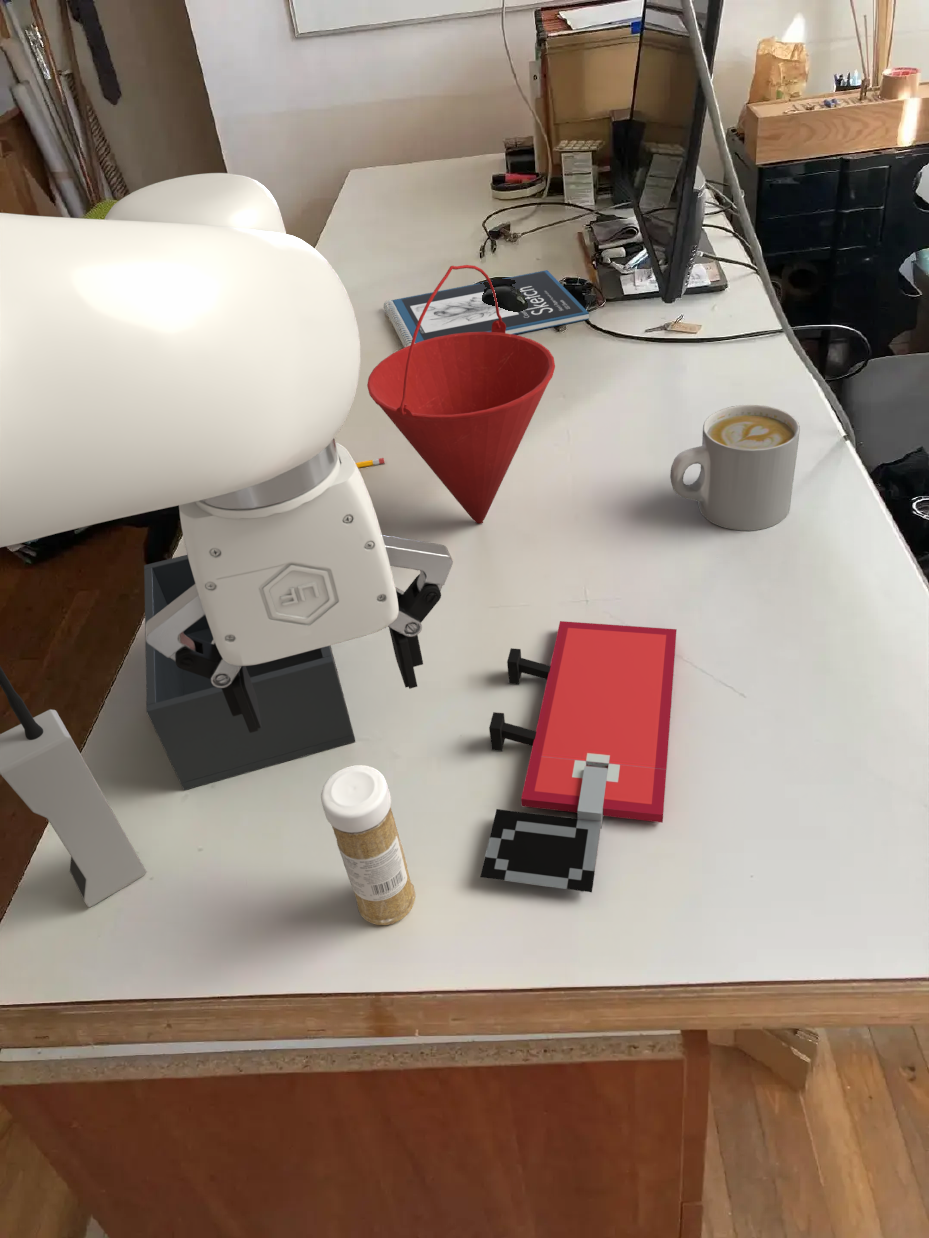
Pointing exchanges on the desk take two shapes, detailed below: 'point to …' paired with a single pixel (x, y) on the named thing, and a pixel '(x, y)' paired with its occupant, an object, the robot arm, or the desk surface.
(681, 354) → the desk surface
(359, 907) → the sprinkles bottle
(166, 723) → the wastebin
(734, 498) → the coffee mug
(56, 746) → the vintage mobile phone
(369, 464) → the pencil
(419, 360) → the fire bucket
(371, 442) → the desk surface
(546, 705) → the red board with handle
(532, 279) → the sketchbook
